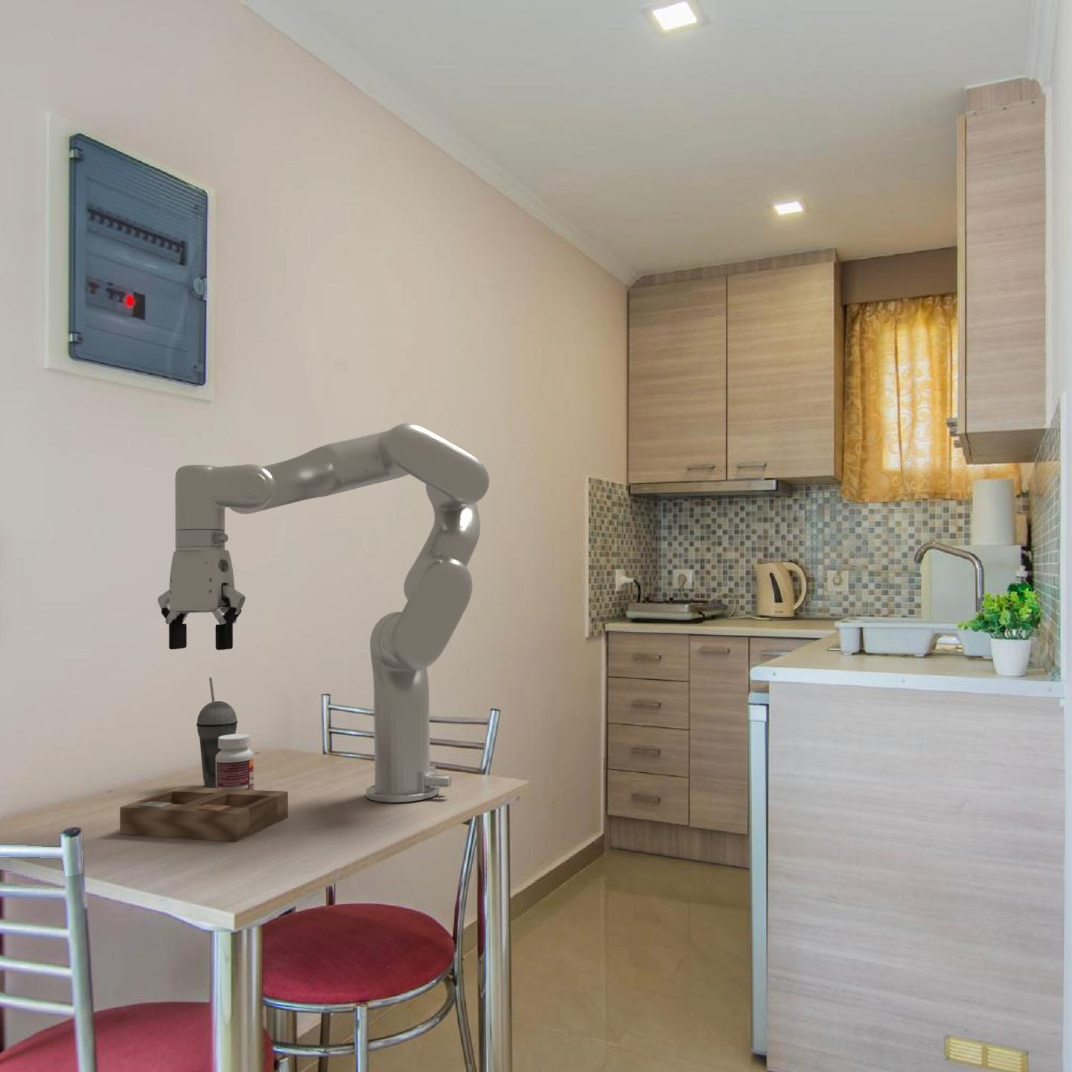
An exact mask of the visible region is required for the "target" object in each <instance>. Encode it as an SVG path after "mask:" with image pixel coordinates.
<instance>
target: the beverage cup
mask: <svg viewBox="0 0 1072 1072" xmlns="http://www.w3.org/2000/svg"><path fill="white" fill-rule="evenodd" d="M213 684H214V683H213V677H209V688H210V689H209V690H210V695H211V702H209V703H207V704H206V705H204V707H203V708H202V709H201V710H200V712H199V714H198V715H197V720H196V725H195V726H196V727H197V728H196V729H197V733H198V738H199V747H200V756H201V757H200V759H201V768H202V779H203V784H204V788H216V770H215V758H216V755H217V754H218V753H219V752H220V751H221V749H219V748H218V738H219V737H220V736H224V735H230V734H237V728H238V727H237V726H238V725H237V724H238V723H239V722H238V718H237V713H236V711H235V710H234V707H232V706H231V704H229V703H227V702H225V701H221V700H220V701H218V700H217V701H216V700H215V693H214V692H215V690H214V686H213Z"/></svg>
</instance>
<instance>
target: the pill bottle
mask: <svg viewBox="0 0 1072 1072" xmlns="http://www.w3.org/2000/svg"><path fill="white" fill-rule="evenodd" d="M250 746H251V735H250V734H246V733H235V734H230V735H224V736H220V737H219V738H218V748H219V749H221V751H220V752H219V753H218V754H217V755H216V758H215V770H216V788H222V789H243V790H255V786H254V782H255V781H254V780H255V779H254V774H255V773H254V770H255V769H254V767H255V766H254V752H253V751H252V750H251V749H249V747H250Z"/></svg>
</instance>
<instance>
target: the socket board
mask: <svg viewBox="0 0 1072 1072" xmlns="http://www.w3.org/2000/svg"><path fill="white" fill-rule="evenodd" d="M287 818H289V792H288V791H283V790H280V791H279V790H263V789H254V790H243V789H222V788H205V787H201V786H200V787H199V786H198V787H195V786H178V787H175V788H172V789H169V790H166V791H163V792H160V793H157V794H154V795H151V796H148V797H145V798H142V799H139V800H137V801H134V802H131V803H128V804H126V805H122V806H120V807H119V834H120V835H127V836H129V835H130V836H145V837H156V838H157V837H159V838H163V837H164V838H171V839H172V838H176V839H189V840H191V839H192V840H209V841H222V842H234V843H235V842H236V843H237V842H239V841H241V840H243V839H246V838H247V837H249V836H251V835H254V834H255V833H257V832H259V831H262V830H264V829H266V828H268V827H270V826H272V825H275V824H276V823H278V822H280V821H283V820H285V819H287Z"/></svg>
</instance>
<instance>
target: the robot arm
mask: <svg viewBox="0 0 1072 1072" xmlns="http://www.w3.org/2000/svg"><path fill="white" fill-rule="evenodd" d="M409 475H410V476H412V477H414V478H415V479H417V480H418V481H420V482H422V483H424V484H425V492H426V495H427V497H428V501H430V504H431V505H432V506H431V507H432V509H433V514H434V521H433V525H432V529H431V530H430V533H429V535H428V536H427V539H426V541H425V543H424V545H423V546H422V549H421V550H420V552H419V554H418V555H417V557H416V559H415V560H414V563H413V564H412V565H411V568H410V569H409V570H408V572H407V575H406V577H405V580H404V584H403V592H404V596H405V599H406V600H407V601H406V604H405V605H404V608H403V609H402V611H393V612H390V613H388V614H386V615H384V616H383V617H381V618H380V619H379V620H378V621H377V622H376V624H375V625H374V627H373V628H372V629H373V630H372V632H371V635H370V640H369V641H370V642H369V643H370V644H369V651H370V652H369V653H370V659H371V660H370V661H371V667H372V679H373V724H374V725H373V726H374V727H373V733H374V734H373V737H374V740H373V742H374V743H373V744H374V747H373V749H374V784H373V785H370V786H368V787H367V788H366V790H365V796H366V798H367V799H369V800H371V801H375V802H381V803H408V802H418V801H423V800H427V799H431V798H433V797H435V796H437V795H438V794H439V793H440V788H451V787H452V785H453V783H452V782H453V779H452V778H453V777H452V776H451V775H450V774H449V773H442V774H441V773H438V772H436V765H431V757H430V756H431V752H430V749H431V748H430V738H431V737H430V687H429V686H430V685H429V684H430V683H429V676H428V669H427V668H429V667H430V666H432V665H433V664H434V663H436V661H438V659H439V658H440V657H441V655H442V654H443V652H444V651H445V649H446V648H447V645H448V644H449V642H450V639H451V637H452V636H453V634H454V632H455V630H456V628H457V627H458V624H459V623H460V621H461V619H462V617H463V615H464V613H465V611H466V609H467V607H468V605H469V603H470V600H471V596H472V592H473V580H472V579H473V578H472V575H471V573H470V570H469V569H468V567H467V566H468V564H469V562H470V560H471V558H472V555H473V553H474V551H475V549H476V547H477V544H478V541H479V538H480V534H481V519H480V513H479V510H478V506H477V503H478V502H479V501H480V500H483V498H484V497H485V496H486V493H488V491H489V490H488V489H489V487H490V476H489V472H488V470H487V467H486V466H485V465H484V464H483V463H482V461H481V460H479V459H478V458H477V457H475V455H472V454H471V453H469V452H467V451H465V450H463V449H462V448H459V447H458V446H457V445H454V444H452V443H451V442H449V441H448V440H446V439H444V438H443V437H442V436H439V435H438V434H436V433H433V432H432V431H430V430H428V429H426V428H425V427H422V426H420V425H418V424H415V423H400V424H397V425H395V426H393V428H390V429H388V430H385V431H381V432H377V433H373V434H372V433H371V434H368V435H364V436H360V437H355V438H352V439H351V438H350V439H347V440H340V441H337V442H333V443H327V444H325V445H321V446H318V447H316V448H314V449H311V450H309V451H307V452H305V453H303V454H301V455H298V456H296V457H295V456H294V457H293V458H289V459H288V460H283V461H279V462H276V463H272V464H268V465H264V466H261V465H258V464H248V463H247V464H238V465H228V466H215V465H210V464H189V465H188V464H187V465H183V466H180V467H178V468H177V470H176V471H175V477H174V481H175V482H174V483H175V484H174V486H175V488H174V489H175V494H174V497H175V498H174V499H175V500H174V501H175V502H174V505H175V506H174V507H175V512H174V513H175V515H174V516H175V517H174V518H175V519H174V524H175V526H174V527H175V530H174V531H175V532H174V534H175V536H174V537H175V538H174V541H175V542H174V543H175V545H174V546H175V547H174V548H175V549H174V551H173V552H172V553H173V554H172V559H171V565H170V573H169V583H168V584H169V585H168V586H169V587H168V588H169V589H168V590H166V591H165V592H164V593H162V594H161V595H160V596H158V597H157V602H158V605H159V608H160V610H161V611H160V612H161V615H162V616H163V618H164V619H165V624H166V625H168V648H169V650H180V649H185V648H187V645H188V638H187V637H188V635H187V633H188V632H187V631H188V630H187V628H188V626H187V623H184V621H185V620H186V619H187V617H188V615H189V614H190V613H192V614H195V613H199V614H201V613H212V615H213V616H214V618H215V620H217V622H218V624H215V627H214V629H215V633H214V634H215V649H216V651H224V650H232V649H233V648H234V639H233V638H234V625H235V624H236V623H237V620H238V618H239V616H240V615H241V613H242V609H243V606H244V605H245V601H246V595H244V594H242V593H241V592H239V591H238V590H236V588H235V576H234V569H233V568H234V567H233V563H232V556H231V553H230V550H228V549H227V550H226V543H227V542H228V541H229V535H228V534H226V531H225V530H226V527H225V526H226V521H225V520H226V519H225V517H226V512H225V510H226V508H229V509H230V511H231V510H232V512H235V513H237V514H240V515H241V514H242V515H250V514H254V513H258V512H259V513H260V512H262V511H267V510H270V509H274V508H278V507H283V506H287V505H290V504H294V503H298V502H302V501H307V500H311V499H316V498H324V497H325V498H326V497H329V496H333V495H336V494H340V493H344V492H348V491H351V490H355V489H359V488H364V487H367V486H371V485H375V484H380V483H384V482H389V481H392V480H395V479H396V480H397V479H400V478H404V477H406V476H409Z"/></svg>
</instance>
